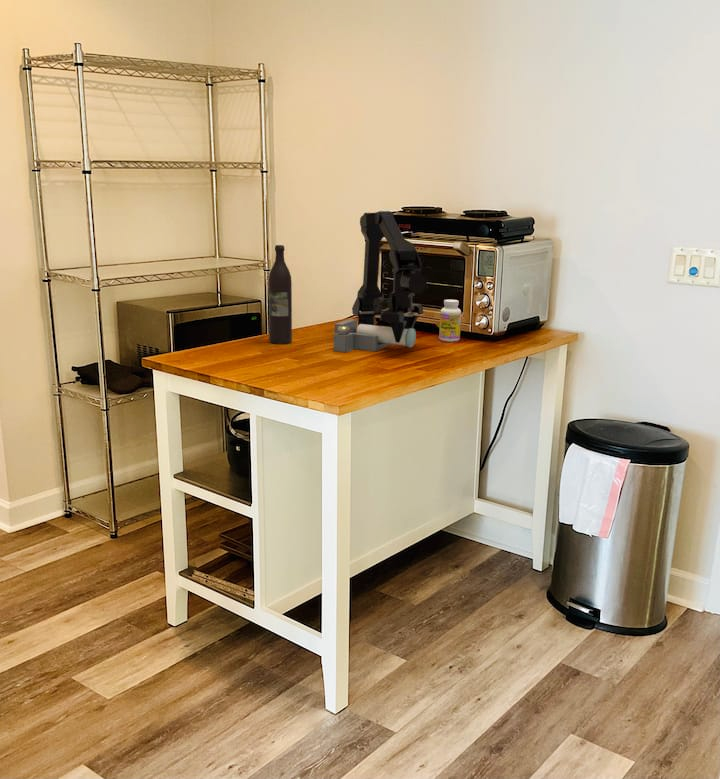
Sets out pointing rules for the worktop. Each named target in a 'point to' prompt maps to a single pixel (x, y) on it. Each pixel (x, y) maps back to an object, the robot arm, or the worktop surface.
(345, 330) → the release plunger
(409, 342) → the cylinder
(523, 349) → the worktop surface
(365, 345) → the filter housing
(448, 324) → the supplement bottle
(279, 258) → the wine bottle
